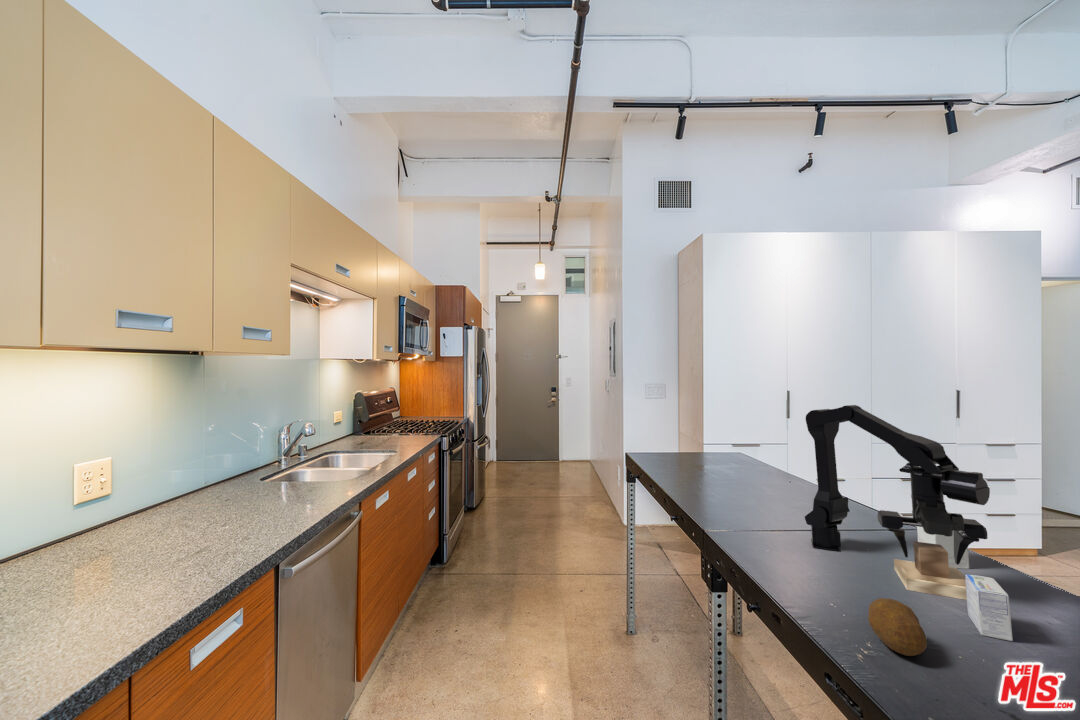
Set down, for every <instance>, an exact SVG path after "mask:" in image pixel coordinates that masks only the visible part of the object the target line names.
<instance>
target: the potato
mask: <svg viewBox="0 0 1080 720" xmlns="http://www.w3.org/2000/svg"><path fill="white" fill-rule="evenodd" d="M867 618H868V623H869V625H870V628H871V629H872V631H873V633H874V634H875V635H876V636H877V638H879V640H880V641H881V642H882V643H883V644H884V645H885V646H887V648H889V649H890V650H892V651H895V652H896V653H898V654H900V655H903V656H906V657H907V656H909V657H914V656H919V655H921V654H922V653H924V652H925V650H926V649H927V646H928V638H927V635H926V633H925V631H924V628H923V627H922V626H921V624H920V620H919V618H918V616H917V615H916V613H915V612H914V611H913V609H912V608H911V607H909V605H907V604H904V603H903V602H901V601H899V600H896V599H892V598H884V597H882V598H878V599H875V600H873V601H872V602H871V603H870V604H869V606H868V617H867Z"/></svg>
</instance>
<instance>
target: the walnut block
mask: <svg viewBox="0 0 1080 720" xmlns="http://www.w3.org/2000/svg"><path fill="white" fill-rule="evenodd" d="M913 553H914V554H913V555H914V562H915V567H916V568H917V570H918V571H919V572H920V574H921V575H927V576H933V577H940V578H947V579H950V578H949V563H948V552H947V551H946V550H945V549H944V548H943V547H942V546H941V545H939V544H931V543H923V542H918V541H913Z"/></svg>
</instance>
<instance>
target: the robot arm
mask: <svg viewBox="0 0 1080 720" xmlns="http://www.w3.org/2000/svg"><path fill="white" fill-rule="evenodd" d="M845 422H850V423H852V424H853V425H855V426H857V427H858V428H860V429H862V430H864V431H865V432H867V433H869V434H871V435H873V436H874V437H875V438H878V439H879V440H881V441H882V442H885V443H886V444H889V446H891V447H892V448H893V449H894V450H895V452H896V453H897V454H898V455H899V456H900V457H902V458H903V459H904V460H905V461H907V463H906V464H905V465H903V466H902V467H901V468H899V469H898V470H899V471H900V472H901V473H907V474H910V492H911V494H910V498H911V507H912V509H911V510H912V511H911V513H912V514H911V516H912V517H910V516H902V515H900V514H899V512H898V511H892V510H883V509H882V510H881V509H880V510H878V511H877V521H878V523H879V524H880V525H881V527H882V528H886V529H887V530H888V531H889V532H892V533H893V534H894V536H895V537H896V539H897V542H898V544H899V547H900V548H901V552H902V553H903V555H904V557H905V558H909V557H908V556H909V553H908V546H907V541H906V535H905V534H906V532H905V530H904V529H903V527H904V526H911V527H912V526H913V527H917V526H919V527H923V529H924V532H926V533H927V534H931V535H934V534H937V535H944V536H948V537H950V536H952V534H953V531H954V559H955V563H956V564H957V565H959V563H960V561H961V559H962V557H963V555H964V552H965V550H966V549H967V547H968V548H969V545H971V544H972V543H974V542H976V543H978V542H980V540H988V530H987V527H985V526H984V525H982V523H980V522H979V521H977V520H976V519H973V518H972V519H971V518H965V519H963V518H964V517H963V515H962V514H960V513H952V512H950V513H947V509H946V502H945V500H944V496H946V497H947V498H948V499H950V500H955V501H960V502H965V503H969V504H974V505H975V504H976V505H980V506H985V505H986V504H987V503H988V502H989V499H990V493H991V490H990V487H989V485H988V483H987V481H986V479H984V475H983V473H982V472H978V471H977V472H976V471H965V470H964V471H963V470H959V469H960V468H959V467H958V466H957V465H956V464H955V463H954V462H953V460H952V459H951V458H950V457H949V456H948V455H947V454H946V451H945V449H944V446H943V445H942V444H941V443H939V442H938V441H936V440H932V439H929V438H927V437H924V436H922V435H918V434H913V433H909V432H907V431H904V430H902V429H901V428H899V427H896V426H895V425H893V424H892V423H889V422H887V421H886V420H883V419H881V418H880V417H878V416H876V415H874V414H872V413H871V412H868V410H865V409H864V408H862V407H861V406H859V405H857V404H850V405H842V406H841V407H835V408H831V409H830V408H824V409H823V408H822V409H813V410H809V412H808V413H806V414H805V423H806V428H807V431H808V432H809V433H808V434H810V436H811V438H812V439H813V442H814V453H815V462H816V463H815V465H816V475H817V476H816V477H817V488H818V489H817V492H816V493H815V496H814V498H813V505H812V510H811V511H810V512H808V513H807V514H806V515H804V520H805V523H806V525H809V526H810V528H811V529H810V530H811V540H810V541H811V547H812V548H815V549H820V550H821V549H822V550H828V551H834V552H835V551H837V552H841V547H842V544H841V543H842V542H841V541H842V540H841V531H840V530H839V529H838V526H840V525H842V524H843V521H844V520H845V518H847V517H848V513H850V508H849V498H848V497H847V496H843V495H842V494H841V492H840V491H839V482H838V471H837V460H836V457H837V456H836V448H835V447H836V445H835V440H836V438H837V435H838V433H839V431H840V430H839V429H840V423H845ZM918 522H919V523H918Z"/></svg>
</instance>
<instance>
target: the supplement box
mask: <svg viewBox="0 0 1080 720" xmlns="http://www.w3.org/2000/svg"><path fill="white" fill-rule="evenodd" d="M946 511H947V510H946ZM947 513H951V512H950V511H947ZM963 519H966V518H964V517H963ZM918 523H919V522H918ZM916 530H917V531H916V532H917V542H923V543H931V544H939V545H941V546H942V547H943V548H944V549H945V550H946V551H947V552H948V563H949V567H954V568H957V569H963V570H964V569H966V570H969V569H970V560H969V546H968V547H967V549H966V550H965V552H964V555H963V557H962V559H961V561H960V563H959V565H957V564H956V563H955V559H954V531H953V534H952V536H950V537H948V536H944V535H937V534H934V535H931V534H927V533H926V532H924V529H923V527H919V526H916Z"/></svg>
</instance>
